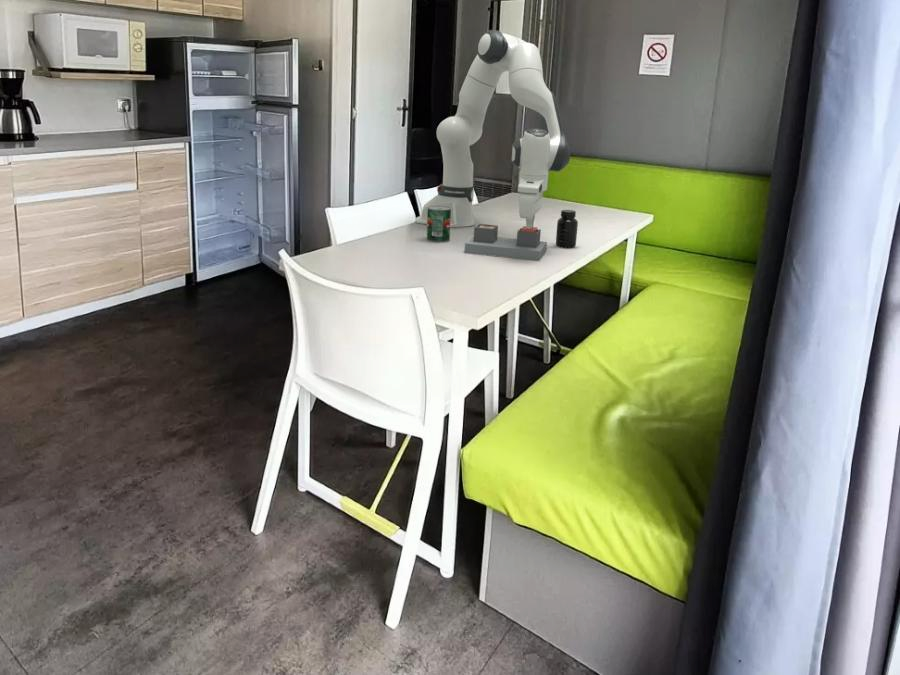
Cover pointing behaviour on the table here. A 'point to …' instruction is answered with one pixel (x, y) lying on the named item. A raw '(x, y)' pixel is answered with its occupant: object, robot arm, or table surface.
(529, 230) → the red button
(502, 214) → the table surface
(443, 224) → the canned tomato
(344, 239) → the table surface
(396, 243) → the table surface
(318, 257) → the table surface
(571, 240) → the supplement bottle
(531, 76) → the robot arm
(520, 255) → the button panel
